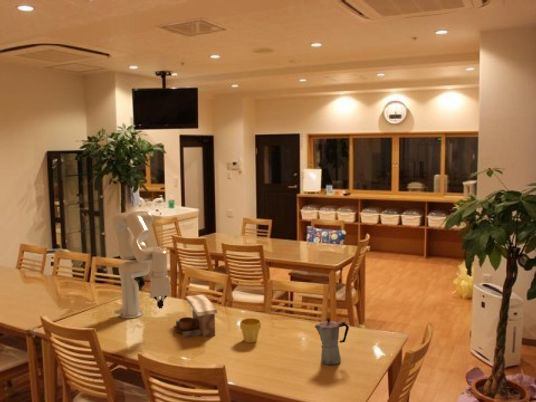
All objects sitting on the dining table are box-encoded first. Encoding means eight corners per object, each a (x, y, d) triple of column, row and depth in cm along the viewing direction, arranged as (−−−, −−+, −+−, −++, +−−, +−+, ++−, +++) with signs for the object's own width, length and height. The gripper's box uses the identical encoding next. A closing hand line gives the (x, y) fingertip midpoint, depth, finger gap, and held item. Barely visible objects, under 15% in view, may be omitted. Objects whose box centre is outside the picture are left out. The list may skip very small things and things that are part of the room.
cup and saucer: (188, 324, 276) (188, 314, 276) (202, 330, 268) (202, 319, 267) (170, 331, 268) (170, 320, 267) (184, 336, 259) (184, 325, 259)
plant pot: (263, 337, 257) (263, 319, 256) (256, 345, 247) (256, 326, 246) (245, 335, 260) (244, 316, 259) (237, 342, 250) (236, 323, 249)
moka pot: (313, 357, 233) (312, 315, 230) (345, 355, 234) (346, 314, 231) (316, 366, 223) (316, 323, 221) (350, 364, 224) (351, 321, 222)
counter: (184, 340, 254) (183, 314, 252) (174, 322, 280) (173, 298, 278) (217, 335, 260) (216, 309, 258) (204, 318, 286) (203, 294, 284)
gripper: (146, 277, 254) (146, 312, 257) (175, 274, 259) (176, 308, 262) (144, 273, 261) (144, 306, 263) (172, 270, 266) (173, 303, 269)
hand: (160, 307), depth 263 cm, fingers closed
